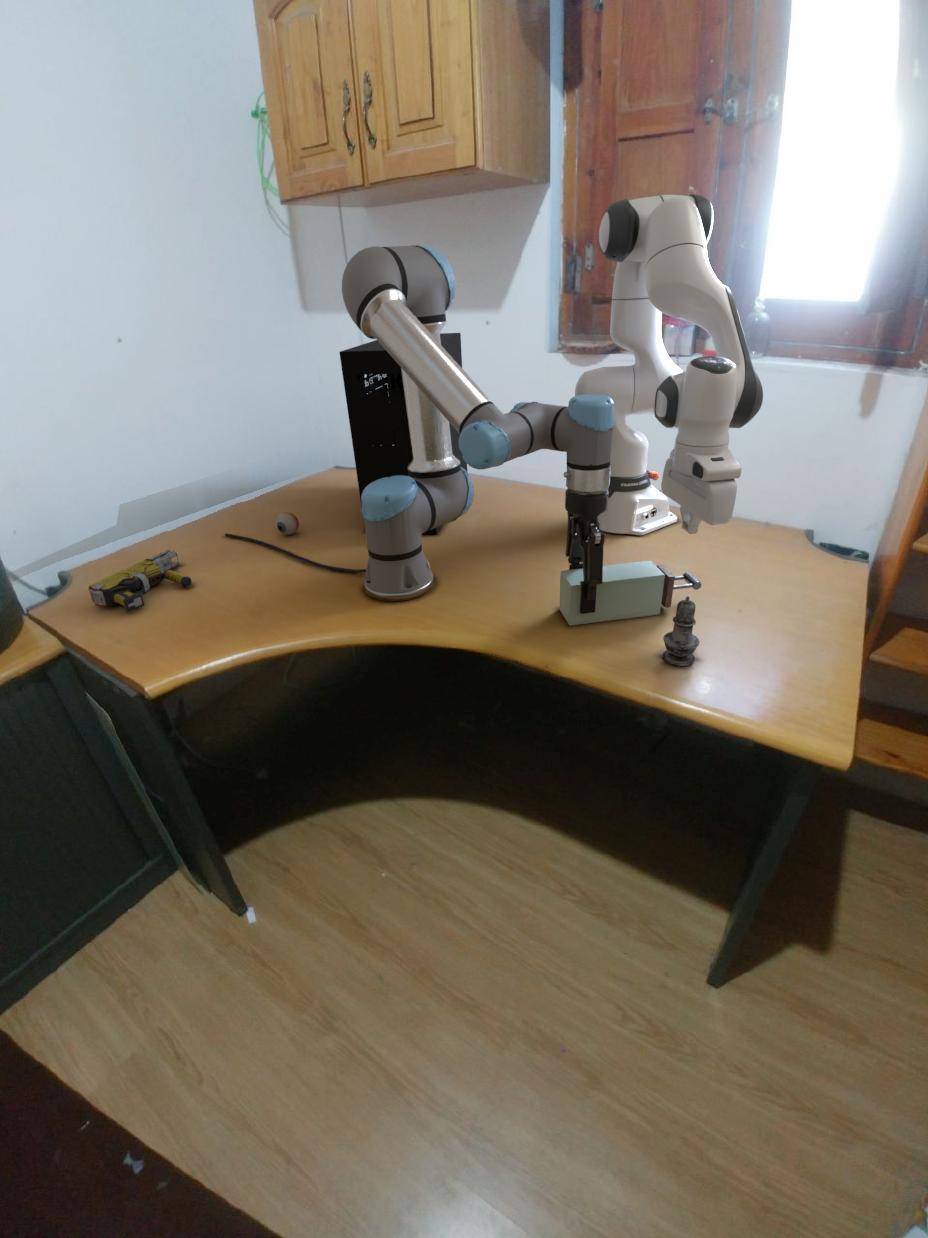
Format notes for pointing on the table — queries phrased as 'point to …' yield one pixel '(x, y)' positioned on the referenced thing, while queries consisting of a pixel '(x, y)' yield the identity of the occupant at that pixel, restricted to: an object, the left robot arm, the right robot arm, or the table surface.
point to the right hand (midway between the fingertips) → (689, 531)
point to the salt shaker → (681, 636)
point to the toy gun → (136, 582)
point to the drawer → (670, 586)
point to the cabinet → (614, 593)
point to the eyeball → (287, 523)
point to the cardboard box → (384, 412)
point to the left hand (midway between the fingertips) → (581, 602)
